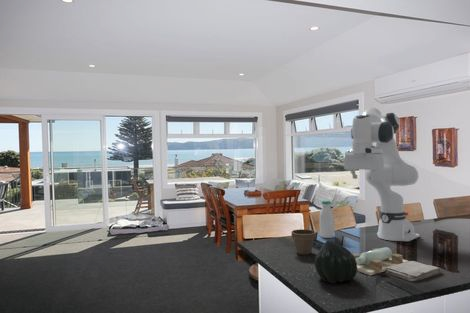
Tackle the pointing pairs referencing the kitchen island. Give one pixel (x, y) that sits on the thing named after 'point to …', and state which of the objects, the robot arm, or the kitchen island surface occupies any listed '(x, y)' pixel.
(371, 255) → the ceramic bottle
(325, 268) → the squash
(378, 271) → the board
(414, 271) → the washcloth
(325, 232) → the milk bottle
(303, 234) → the flower pot
